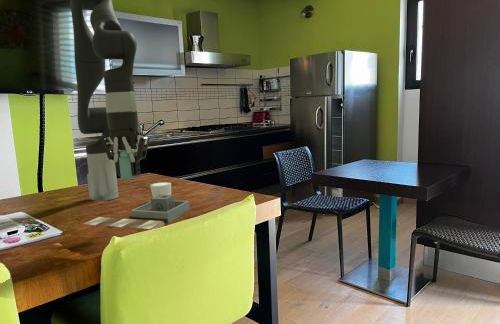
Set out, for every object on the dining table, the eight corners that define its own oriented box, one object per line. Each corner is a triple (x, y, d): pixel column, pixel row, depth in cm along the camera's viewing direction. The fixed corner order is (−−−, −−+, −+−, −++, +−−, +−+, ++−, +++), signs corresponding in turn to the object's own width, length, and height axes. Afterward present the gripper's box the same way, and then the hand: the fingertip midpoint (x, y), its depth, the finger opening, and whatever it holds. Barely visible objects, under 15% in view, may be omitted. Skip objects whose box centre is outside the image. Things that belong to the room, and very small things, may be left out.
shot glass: (154, 208, 121) (152, 187, 120) (149, 203, 127) (147, 183, 126) (175, 204, 124) (173, 184, 123) (169, 200, 130) (168, 180, 129)
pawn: (117, 179, 98) (114, 149, 97) (127, 176, 102) (124, 147, 101) (130, 179, 97) (126, 149, 96) (139, 176, 100) (136, 147, 99)
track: (82, 228, 104) (81, 224, 104) (99, 220, 110) (99, 216, 110) (149, 233, 96) (149, 229, 96) (164, 225, 103) (163, 220, 103)
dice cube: (167, 215, 110) (166, 199, 109) (152, 215, 111) (150, 198, 110) (175, 210, 114) (174, 194, 114) (160, 210, 116) (159, 194, 115)
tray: (131, 220, 109) (130, 210, 108) (155, 208, 120) (154, 199, 120) (168, 223, 104) (167, 212, 104) (189, 210, 116) (189, 201, 115)
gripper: (89, 112, 96) (97, 178, 98) (135, 109, 91) (142, 178, 93) (109, 111, 103) (116, 172, 105) (153, 108, 98) (159, 173, 100)
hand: (128, 175), depth 99 cm, fingers closed on pawn, 4 cm apart
